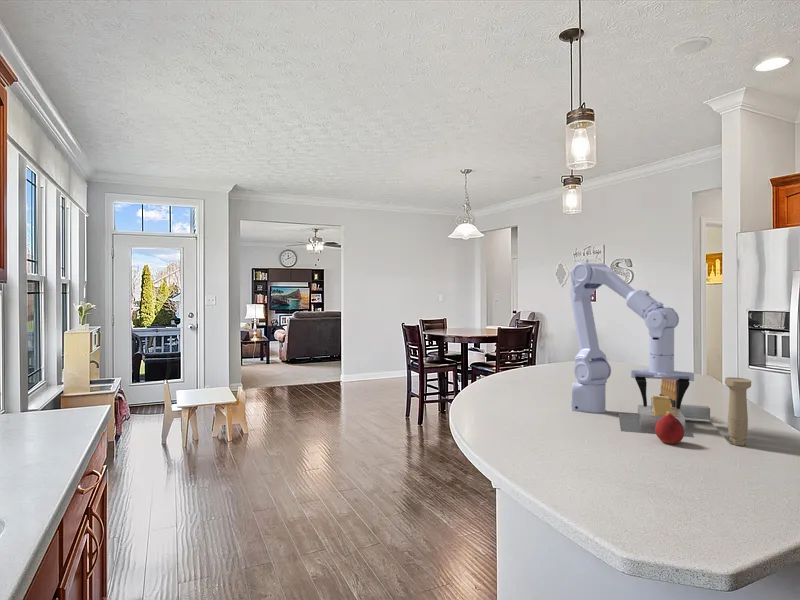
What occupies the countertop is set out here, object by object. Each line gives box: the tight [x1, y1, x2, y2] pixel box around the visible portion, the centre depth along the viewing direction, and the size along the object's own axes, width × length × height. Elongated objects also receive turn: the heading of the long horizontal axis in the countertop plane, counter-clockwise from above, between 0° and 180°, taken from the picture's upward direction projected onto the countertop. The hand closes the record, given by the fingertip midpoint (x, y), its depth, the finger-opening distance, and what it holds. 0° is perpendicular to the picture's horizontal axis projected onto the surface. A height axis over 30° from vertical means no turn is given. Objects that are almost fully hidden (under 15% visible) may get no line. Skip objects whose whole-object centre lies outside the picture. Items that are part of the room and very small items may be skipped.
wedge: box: [652, 395, 671, 416], centre depth 136 cm, size 4×6×6 cm, turn 159°
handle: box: [724, 377, 752, 447], centre depth 121 cm, size 5×6×15 cm
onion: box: [655, 412, 685, 445], centre depth 119 cm, size 6×6×8 cm
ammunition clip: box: [659, 376, 677, 407], centre depth 152 cm, size 11×2×12 cm, turn 174°
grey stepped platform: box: [617, 396, 711, 438], centre depth 135 cm, size 22×21×6 cm
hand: (661, 407), depth 136 cm, fingers open, 7 cm apart
